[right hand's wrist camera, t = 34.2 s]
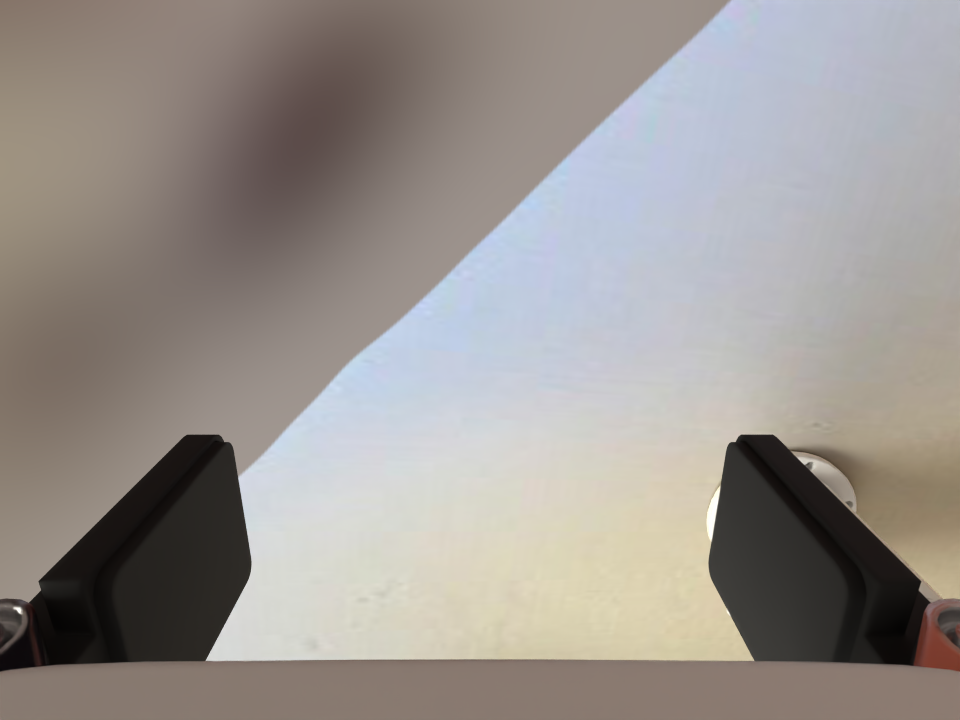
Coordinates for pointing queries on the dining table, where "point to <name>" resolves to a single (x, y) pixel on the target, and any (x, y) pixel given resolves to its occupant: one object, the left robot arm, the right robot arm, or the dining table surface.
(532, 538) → the dining table surface
